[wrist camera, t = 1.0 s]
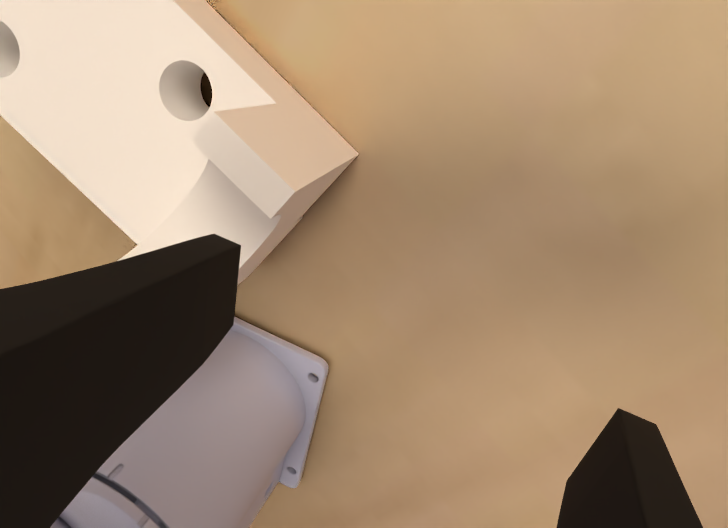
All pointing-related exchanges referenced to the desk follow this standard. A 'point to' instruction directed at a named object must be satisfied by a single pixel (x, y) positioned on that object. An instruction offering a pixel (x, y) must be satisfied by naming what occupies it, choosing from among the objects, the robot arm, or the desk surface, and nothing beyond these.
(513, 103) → the desk surface
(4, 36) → the bracket
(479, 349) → the desk surface
